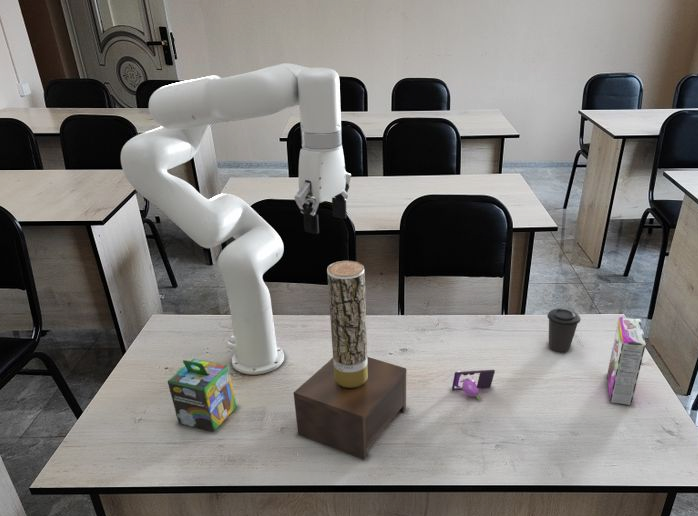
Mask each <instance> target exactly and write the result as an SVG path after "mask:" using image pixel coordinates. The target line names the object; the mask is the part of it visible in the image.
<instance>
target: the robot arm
mask: <svg viewBox="0 0 698 516" xmlns="http://www.w3.org/2000/svg"><path fill="white" fill-rule="evenodd" d="M340 86H341V83H340V76H339V73H338V72H337V71H336V70H335V69H332V68H330V67H329V68H328V67H307V66H303V65H299V64H296V63H291V62H284V63H279V64H275V65H271V66H267V67H264V68H261V69H257V70H252V71H249V72H244V73H240V74H235V75H231V76H225V77H220V76H219V75H208V76H205V77H200V78H196V79H195V78H194V79H189V80H184V81H179V82H175V83H171V84H168V85H164V86H161V87H159V88H157V89H156V90H155V91H153V93H152V94H151V96H150V97H149V101H148V113H149V115H150V117H151V118H152V120H153V121H154V122H155V123H156V125H158V126H160V127H156V128H154V129H151V130H148V131H144V132H141V133H140V134H136V135H135V136H134V137H132V138H130V139H129V140H127V141H126V142H125V144H124V145H123V146H122V148H121V151H120V165H121V168H122V171H123V174H124V176H125V178H126V180H127V181H128V183H129V185H131V187H132V188H133V189H134V190H135V191H136V192H137V193H138V194H139V195H141V196H142V197H143V198H144V199H146V200H147V201H148V202H150V203H151V204H153V205H154V206H155V207H157V208H158V209H159V210H160V211H161V212H162V213H164V214H165V215H166V216H167V217H168V218H169V219H170V220H171V221H172V222H173V223H174V224H175V225H176V226H177V227H178V228H179V229H180V230H182V232H183V233H185V234H186V235H187V236H188V237H189V238H190V239H191V240H193V242H195V243H196V244H197V245H198V246H200V247H203V248H204V249H212V248H216V247H218V246H220V245H222V244H223V243H226V241H228V240H230V239H231V238H233V239H234V240H233V241H232V242H230V243H229V244H227V245H226V246H225V247H224V248H223V249H222V251H221V252H220V254H219V256H218V259H217V269H218V272H219V275H220V277H221V280H222V282H223V286H224V289H225V293H226V298H227V301H228V308H229V312H230V318H231V325H232V331H233V335H230V336H229V338H228V342H227V343H226V346H225V347H226V348H227V349H230V350H233V355H232V357H231V364H232V368H233V369H234V370H235V371H237V372H238V373H241V374H244V375H250V376H251V375H253V376H254V375H256V376H257V375H263V374H267V373H270V372H273V371H275V370H276V369H277V368H279V367H280V366H282V364H283V363H284V361H285V353H284V350H283V349H282V348H281V347H280V346H278V345H277V339H276V332H275V331H276V330H275V324H274V315H273V307H272V299H271V294H270V290H269V288H268V286H267V284H266V283H265V281H264V279H263V278H264V277H263V276H264V274H265V273H266V272H267V271H268V270H269V269H271V268H272V267H273V266H275V264H277V263H278V262H279V261H280V260H281V258H282V257H283V254H284V252H285V251H284V250H285V249H284V248H285V247H284V242H283V240H282V238H281V236H280V235H279V233H278V232H277V231H276V230H275V229H274V227H272V225H270V224H269V223H268V222H267V221H266V220H265V219H264V218H263V217H262V215H261V216H260V215H259V213H258V212H257V211H256V210H255V209H254V208H252V207H251V206H250V205H249V204H248V203H247V202H246V201H245V200H243V199H242V198H241V197H238V196H237V195H234V194H232V193H221V194H218V195H214V196H213V197H212V198H207V197H205V196H204V195H202V193H200V192H199V191H198V190H197V189H196V188H195V187H194V186H193V185H191V184H190V183H189V182H188V181H186V180H184V179H182V178H180V177H178V176H175V175H172V174H171V173H169V172H168V170H170V169H173V168H176V167H178V166H180V165H183V164H185V163H187V162H189V161H190V160H192V159H193V158H194V156H195V155H196V154H197V153H198V151H199V149H200V147H201V145H202V142H203V140H204V138H205V135H206V134H207V132H208V130H209V127H210V125H215V124H220V123H221V124H222V123H229V122H237V121H244V120H249V119H255V118H256V119H257V118H263V117H266V116H270V115H274V114H277V113H279V112H281V111H285V110H287V109H289V108H293V107H297V106H299V121H300V136H301V147H302V148H300V151H299V158H298V191H297V192H296V194H295V195H294V201H295V202H296V205H297V208H298V209H299V211H300V213H301V214H302V216H303V230H304V231H305V232H306V233H308V234H309V233H310V234H314V235H318V234H320V225H319V223H320V222H319V214H318V213H317V212H318V208H319V205H320V204H321V203H323V202H324V203H325V202H326V201H328V200H330V199H331V207H332V208H331V210H332V216H333V217H334V218H338V219H342V220H345V219H347V217H348V213H347V199H348V196H349V195H348V191H349V190H350V181H351V178H352V174H351V173H349V172H347V171H346V163H345V155H344V149H343V143H342V142H343V140H342V116H341V115H342V114H341V111H342V109H341V89H340V88H341V87H340ZM310 203H312V205H311V206H310Z"/></svg>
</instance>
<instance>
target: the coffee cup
mask: <svg viewBox="0 0 698 516" xmlns="http://www.w3.org/2000/svg"><path fill="white" fill-rule="evenodd" d="M546 315H547V319H548V343H547V344H548V345H547V346H548V348H549V350H550V351H552V352H553V353H559V354H564V353H567V352H569V351H570V349H571V346H572V343H573V339H574V336H575V333H576V330H577V327H578V324H580V322H581V320H582V319H581V317H580V314H578V312H576V311H574V310H572V309H570V308H562V307H561V308H558V307H557V308H554V309H552V310H550V311H548V313H547V314H546Z"/></svg>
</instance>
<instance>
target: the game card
mask: <svg viewBox="0 0 698 516" xmlns="http://www.w3.org/2000/svg"><path fill="white" fill-rule="evenodd" d="M495 373H496V371H495V369H483V370H482V369H481V370H467V371H465V370H464V371H460V370H457V371H454V374H453V380H452V386H451V391H463V392H464V393H465V394H466V395H468V396H475V398H476V399H477V401H480V396H479V391H480V389H490V388H491V387H492V384H493V380H494V376H495ZM475 374H479V375H478V380H477V381H475V380H474V379H472V378H464V379H462V380H461V381H460V379H461V376H468V375H469V376H474V375H475ZM459 383H460V384H461V383H462V387H461V386H459Z"/></svg>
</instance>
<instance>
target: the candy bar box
mask: <svg viewBox="0 0 698 516" xmlns="http://www.w3.org/2000/svg"><path fill="white" fill-rule="evenodd" d="M617 319H618V320H617V325H616V328H615V329H616V330H615V334H614V339H613V343H612V344H613V345H612V348H611V355H610V359H609V363H608V367H607V368H608V369H607V373H606V379H607V387H608V395H609V396H608V398H609V403H610V404H615V405H624V406H632V404H633V399H634V395H635V391H636V389H637V388H636V387H637V383H638V379H639V374H640V372H641V371H640V370H641V367H642V363H643V358H644V353H645V350H646V346H647V345H646V339H645V334H644V329H643V324H642V320H641V318H633V317H625V316H618V318H617Z"/></svg>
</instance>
